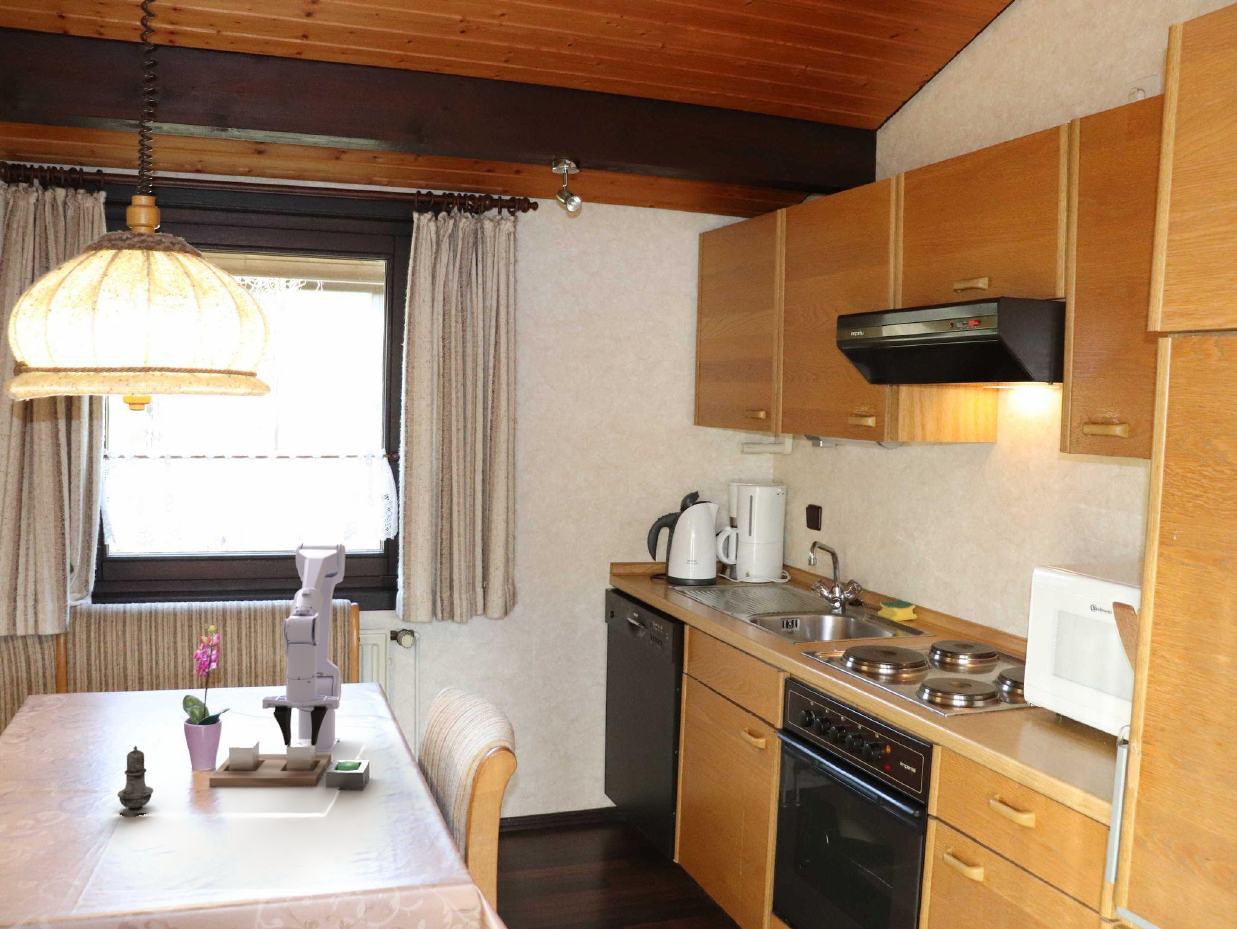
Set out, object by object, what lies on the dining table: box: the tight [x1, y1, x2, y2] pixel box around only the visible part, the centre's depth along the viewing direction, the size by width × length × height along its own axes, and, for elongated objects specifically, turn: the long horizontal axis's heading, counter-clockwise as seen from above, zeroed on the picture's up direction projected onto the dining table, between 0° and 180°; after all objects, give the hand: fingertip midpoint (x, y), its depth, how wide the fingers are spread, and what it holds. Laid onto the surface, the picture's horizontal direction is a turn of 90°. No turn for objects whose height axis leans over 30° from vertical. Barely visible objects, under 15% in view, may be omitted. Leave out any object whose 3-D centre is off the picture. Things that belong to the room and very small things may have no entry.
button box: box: [325, 759, 370, 791], centre depth 206 cm, size 7×7×4 cm
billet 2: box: [286, 738, 316, 771], centre depth 209 cm, size 4×4×6 cm
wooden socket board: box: [208, 753, 332, 788], centre depth 209 cm, size 14×20×2 cm
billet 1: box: [228, 739, 260, 771], centre depth 208 cm, size 4×4×6 cm
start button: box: [338, 761, 359, 770], centre depth 206 cm, size 4×4×3 cm
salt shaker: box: [117, 745, 154, 818], centre depth 189 cm, size 6×6×12 cm
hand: (300, 743), depth 209 cm, fingers closed on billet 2, 4 cm apart
